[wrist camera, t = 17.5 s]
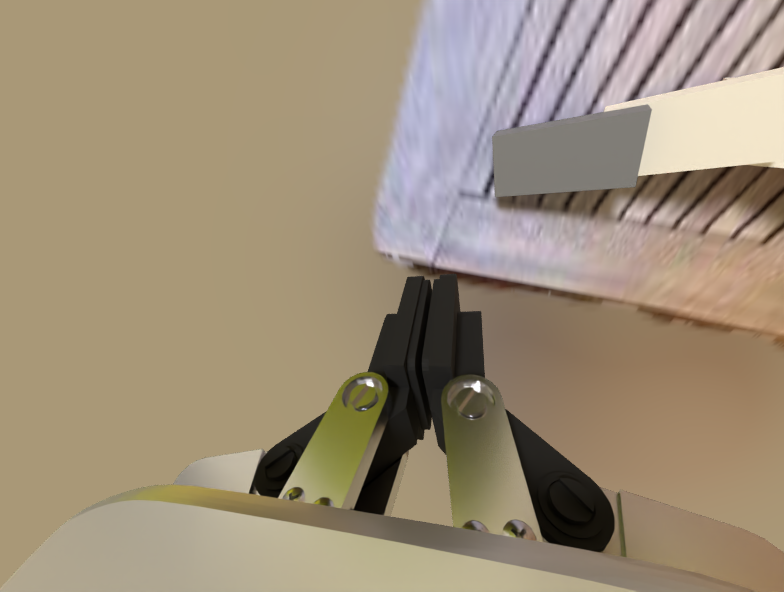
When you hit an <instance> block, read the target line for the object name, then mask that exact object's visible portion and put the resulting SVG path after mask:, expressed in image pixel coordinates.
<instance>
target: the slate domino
mask: <svg viewBox="0 0 784 592" xmlns="http://www.w3.org/2000/svg"><path fill="white" fill-rule="evenodd" d="M651 111H652V109H651V108H650V106H649V105H648V104H646V105H641V106H635V107H629V108H624V109H618V110H612V111H607V112H601V113H596V114H590V115H584V116H579V117H573V118H567V119H562V120H556V121H551V122H545V123H539V124H534V125H528V126H522V127H517V128H511V129H506V130H500V131H497V132H496V133H495V134H494V135H493V136H492V143H493V163H494V184H495V197H504V196H518V195H532V194H546V193H559V192H573V191H587V190H601V189H614V188H628V187H636V182H637V177H638V172H639V168H640V163H641V158H642V154H643V149H644V144H645V140H646V135H647V130H648V126H649V121H650V116H651Z"/></svg>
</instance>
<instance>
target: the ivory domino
mask: <svg viewBox="0 0 784 592" xmlns="http://www.w3.org/2000/svg"><path fill="white" fill-rule="evenodd" d="M646 104H648V105H649V106H650V108H651V109H652V111H651V116H650V121H649V126H648V130H647V135H646V140H645V144H644V149H643V154H642V158H641V163H640V168H639V172H638V176H643V175H652V174H662V173H671V172H681V171H690V170H700V169H710V168H719V167H729V166H738V165H748V164H757V163H767V162H777V161H784V67H783V68H778V69H773V70H769V71H764V72H760V73H755V74H751V75H746V76H742V77H737V78H733V79H728V80H724V81H719V82H714V83H710V84H705V85H701V86H696V87H692V88H687V89H683V90H678V91H674V92H669V93H665V94H660V95H655V96H651V97H646V98H642V99H637V100H633V101H628V102H624V103H619V104H615V105H610V106H606V107H605V110H604V112H607V111H612V110H618V109H624V108H629V107H635V106H641V105H646Z"/></svg>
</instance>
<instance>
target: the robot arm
mask: <svg viewBox="0 0 784 592" xmlns="http://www.w3.org/2000/svg"><path fill="white" fill-rule="evenodd" d="M432 419H433V424H434V428H435V432H436V437H437V442H438V446H439V447H440V449H441V450H442V451H443V452H444V453H445V454H446V457H447V468H448V478H449V488H450V499H451V510H452V520H453V527H450V526H444V525H439V524H432V523H426V522H420V521H414V520H408V519H402V518H396V517H390V516H391V513H392V510H393V506H394V503H395V499H396V496H397V493H398V490H399V486H400V483H401V480H402V476H403V473H404V470H405V466H406V463H407V460H408V453H409V450H410V449H411V448H412V447H413V446H414V445H416V444H417V439H419V440H423V438H424V430H425V429H428V430H430V428H431V420H432ZM0 592H784V553H783V552H782V551H781V550H780V549H778V548H777V547H775V546H774V545H773V544H771V543H770V542H768V541H767V540H765V539H764V538H762V537H760V536H758V535H756V534H754V533H751V532H749V531H747V530H745V529H742V528H739V527H736V526H733V525H730V524H727V523H724V522H720V521H717V520H714V519H711V518H708V517H705V516H702V515H698V514H695V513H692V512H689V511H686V510H683V509H680V508H677V507H674V506H670V505H667V504H664V503H661V502H658V501H655V500H652V499H649V498H645V497H642V496H639V495H636V494H633V493H630V492H627V491H624V490H620V491H619V492H618V493H617V492H614V491H611V490H608V489H604V488H601V487H599V486H598V485H597V484H596V483H595V482H594V481H593V480H592V479H591V478H590V477H588V476H587V475H586V474H584V473H583V472H582V471H581V470H579V469H578V468H577V467H576V466H575V465H574V464H572V463H571V462H570V461H569V460H567V459H566V458H565V457H564V456H563V455H561V454H560V453H559V452H558V451H556V450H555V449H554V448H553V447H552V446H550V445H549V444H548V443H547V442H545V441H544V440H543V439H542V438H541V437H539V436H538V435H537V434H536V433H534V432H533V431H532V430H531V429H529V428H528V427H527V426H526V425H525V424H523V423H522V422H521V421H520V420H519V419H517V418H516V417H515V416H514V415H512V414H511V413H510V412H509V411H507V410H506V409H505V407H504V403H503V400H502V396H501V394H500V392H499V390H498V388H497V387H496V386H495V385H494V384H493V383H492V382H491V381H489V380H487V379H486V378H485V373H484V354H483V338H482V318H481V311H473V312H460V304H459V293H458V282H457V274H447V275H440V279H434V283H433V290H432V289H431V282H430V280H425V278H424V276H415V277H407V280H406V284H405V287H404V291H403V294H402V298H401V302H400V306H399V309H398V312H397V314H387V315H386V318H385V320H384V323H383V326H382V329H381V332H380V335H379V339H378V341H377V345H376V348H375V351H374V354H373V357H372V360H371V363H370V366H369V369H368V372H363V373H359V374H356V375H354V376H352V377H350V378H349V379H348V380H346V381H345V382H344V384H343V385H342V386H341V387H340V389H339V390H338V392H337V394H336V396H335V398H334V399H333V401H332V403H331V405H330V406H329V408H328V410H327V411H326V412H325V413H323V414H322V415H320V416H319V417H317V418H316V419H314V420H313V421H311V422H310V423H308V424H307V425H305V426H304V427H302V428H301V429H299V430H297V431H296V432H294V433H293V434H292V435H290V436H289V437H287V438H285V439H284V440H282V441H281V442H280V443H278V444H276V445H275V446H274V447H273V448H271V449H270V450H269V451H267V452H265V451H264V450H263V449H258V450H252V451H246V452H239V453H232V454H226V455H220V456H213V457H207V458H202V459H200V460H197V461H195V462H193V463H192V464H190V465H189V466H187V467H186V468H185V469H184V470H183V471H182V472H181V473H180V474H179V476H178V477H177V479H176V480H175V482H174V483H173V485H154V486H148V487H142V488H138V489H134V490H130V491H127V492H124V493H121V494H118V495H115V496H112V497H109V498H107V499H105V500H102V501H100V502H98V503H96V504H94V505H92V506H90V507H88V508H86V509H84V510H82V511H81V512H79V513H78V514H76V515H75V516H73V517H72V518H70V519H69V520H68V521H67V522H65V523H64V524H63V525H62V526H61V527H60V528H58V529H57V530H56V531H55V532H54V533H53V534H52V535H51V536H50V537H49V538H48V539H47V540H46V541H45V542H44V543H43V544H42V545H41V546H40V547H39V548H38V549H37V550H36V551H35V552H34V553H33V554H32V555H31V556H30V557H29V558H28V559H27V560H26V561H25V562H24V563H23V565H22V566H21V567H20V568H19V569H18V570H17V571H16V572H15V573H14V574H13V575H12V576H11V577H10V578H9V579H8V580H7V582H6V583H5V584H4V585H3V586H2V587H1V588H0Z"/></svg>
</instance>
